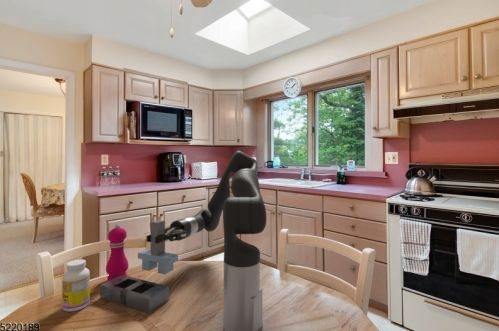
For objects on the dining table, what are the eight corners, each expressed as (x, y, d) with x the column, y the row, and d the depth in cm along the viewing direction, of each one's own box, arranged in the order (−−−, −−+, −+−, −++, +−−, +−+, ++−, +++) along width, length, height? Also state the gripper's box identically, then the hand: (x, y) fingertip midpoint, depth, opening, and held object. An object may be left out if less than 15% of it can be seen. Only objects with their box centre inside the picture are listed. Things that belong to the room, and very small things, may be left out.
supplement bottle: (61, 305, 76) (61, 261, 76) (87, 297, 80) (87, 256, 80) (63, 315, 71) (63, 268, 71) (91, 307, 75) (91, 262, 75)
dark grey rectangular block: (169, 299, 79) (169, 286, 79) (149, 313, 72) (149, 299, 72) (122, 286, 87) (122, 274, 87) (100, 297, 80) (100, 284, 80)
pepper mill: (119, 285, 88) (119, 226, 88) (100, 283, 90) (100, 225, 90) (132, 276, 95) (132, 221, 95) (115, 274, 97) (115, 220, 97)
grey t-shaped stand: (178, 270, 88) (178, 222, 88) (169, 275, 84) (170, 224, 84) (146, 264, 93) (146, 218, 93) (137, 268, 89) (137, 220, 89)
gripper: (170, 217, 104) (135, 226, 89) (199, 220, 99) (168, 230, 83) (170, 235, 104) (135, 248, 89) (199, 239, 99) (168, 254, 83)
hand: (151, 239), depth 86 cm, fingers closed on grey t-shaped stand, 3 cm apart
